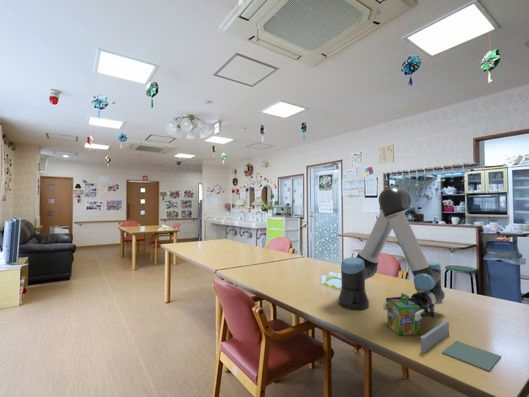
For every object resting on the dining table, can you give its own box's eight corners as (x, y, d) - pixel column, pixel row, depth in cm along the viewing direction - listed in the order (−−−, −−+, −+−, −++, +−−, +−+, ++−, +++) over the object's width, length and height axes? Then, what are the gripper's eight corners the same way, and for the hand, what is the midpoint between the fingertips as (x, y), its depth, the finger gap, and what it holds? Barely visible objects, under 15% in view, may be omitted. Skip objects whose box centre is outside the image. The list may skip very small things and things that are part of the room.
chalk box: (386, 326, 115) (386, 291, 115) (406, 324, 116) (406, 290, 116) (400, 336, 106) (399, 299, 106) (421, 335, 107) (420, 297, 107)
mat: (442, 353, 94) (442, 352, 94) (456, 341, 101) (456, 340, 101) (489, 371, 83) (489, 370, 83) (500, 357, 91) (500, 356, 91)
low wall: (420, 351, 95) (420, 337, 95) (445, 332, 108) (445, 320, 108) (424, 352, 94) (424, 338, 94) (449, 334, 107) (448, 321, 107)
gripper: (454, 317, 112) (432, 332, 99) (396, 300, 131) (371, 311, 119) (453, 299, 112) (431, 312, 99) (396, 285, 132) (371, 294, 119)
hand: (399, 311), depth 109 cm, fingers open, 12 cm apart
